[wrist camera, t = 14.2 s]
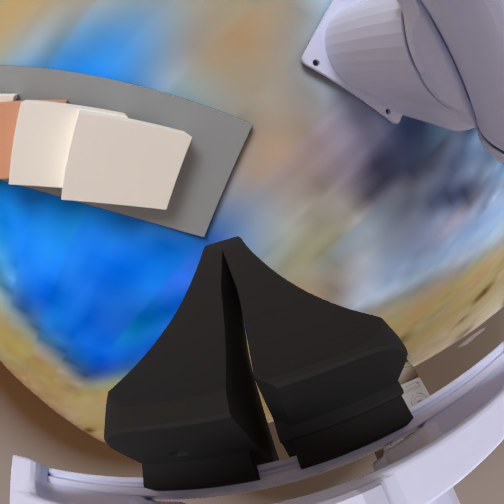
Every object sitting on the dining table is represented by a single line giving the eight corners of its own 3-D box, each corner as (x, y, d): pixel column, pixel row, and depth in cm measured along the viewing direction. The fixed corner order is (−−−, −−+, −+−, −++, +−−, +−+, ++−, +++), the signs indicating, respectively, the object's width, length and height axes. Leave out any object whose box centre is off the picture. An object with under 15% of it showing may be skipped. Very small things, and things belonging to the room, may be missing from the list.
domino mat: (251, 123, 17) (252, 124, 17) (203, 234, 21) (203, 237, 21) (-8, 65, 9) (-12, 65, 9) (-26, 169, 13) (-29, 171, 13)
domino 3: (192, 136, 15) (78, 113, 11) (166, 209, 17) (61, 199, 13) (183, 131, 16) (79, 109, 12) (159, 199, 18) (62, 188, 14)
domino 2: (127, 116, 14) (20, 102, 9) (107, 192, 16) (8, 184, 11) (124, 112, 15) (26, 99, 10) (105, 182, 17) (13, 175, 12)
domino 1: (65, 101, 12) (-27, 107, 8) (56, 176, 14) (-29, 181, 10) (67, 99, 13) (-19, 104, 9) (58, 168, 15) (-23, 173, 11)
